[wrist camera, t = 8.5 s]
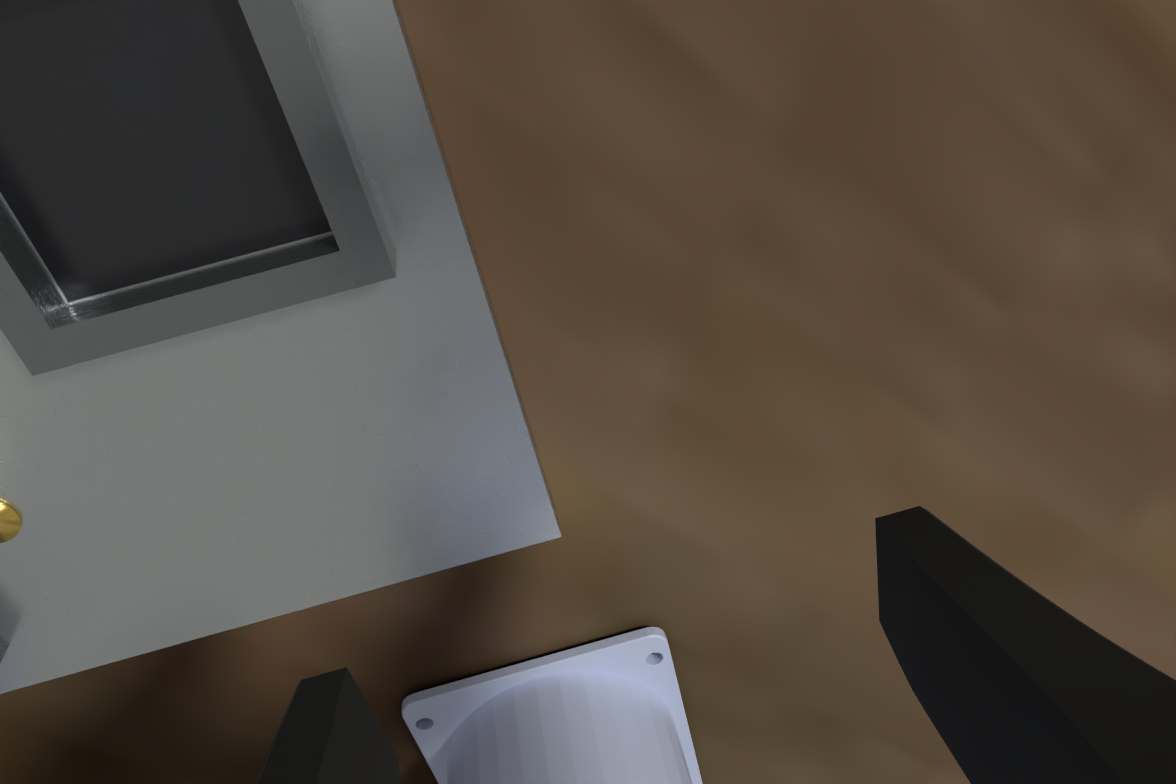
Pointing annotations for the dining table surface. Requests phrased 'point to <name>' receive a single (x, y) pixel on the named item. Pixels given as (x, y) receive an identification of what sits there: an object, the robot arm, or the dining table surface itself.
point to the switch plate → (234, 328)
